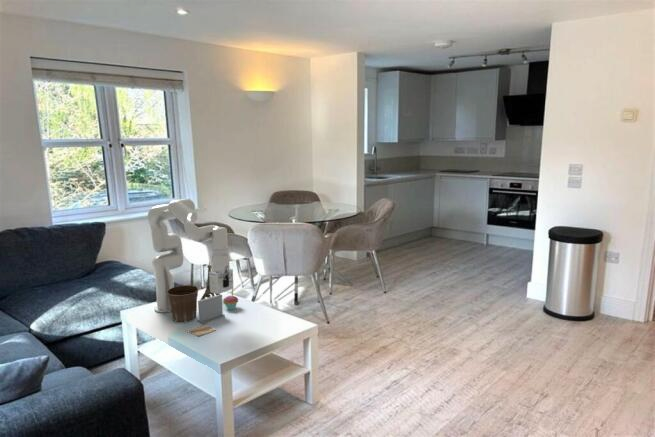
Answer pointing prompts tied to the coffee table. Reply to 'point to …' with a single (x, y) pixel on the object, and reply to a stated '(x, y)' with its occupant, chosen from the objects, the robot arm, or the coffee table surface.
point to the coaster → (201, 330)
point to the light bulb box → (219, 282)
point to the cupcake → (230, 301)
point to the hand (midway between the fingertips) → (221, 285)
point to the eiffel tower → (208, 286)
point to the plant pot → (183, 303)
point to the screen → (210, 309)
